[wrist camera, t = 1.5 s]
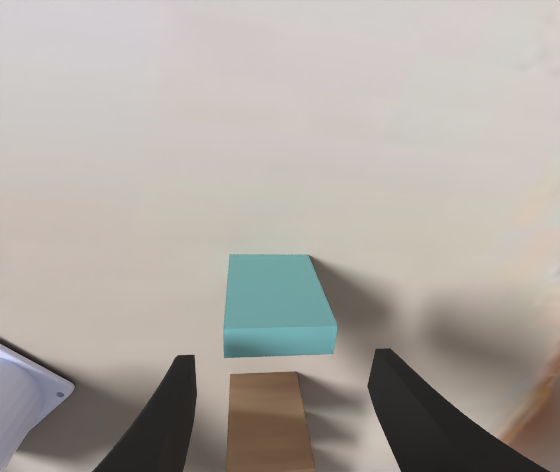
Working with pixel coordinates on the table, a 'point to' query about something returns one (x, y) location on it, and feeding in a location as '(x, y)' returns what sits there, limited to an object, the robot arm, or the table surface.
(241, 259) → the teal domino
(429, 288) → the table surface
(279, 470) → the domino
